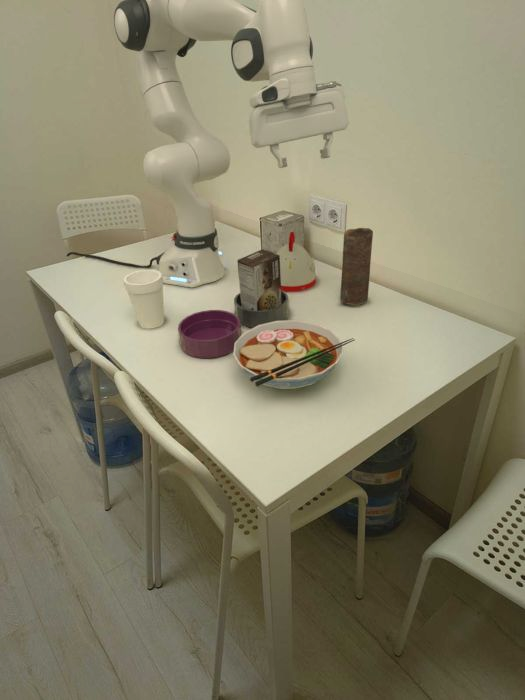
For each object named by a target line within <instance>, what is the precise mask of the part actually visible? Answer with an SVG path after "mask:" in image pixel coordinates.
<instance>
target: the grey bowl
mask: <svg viewBox="0 0 525 700" xmlns="http://www.w3.org/2000/svg"><path fill="white" fill-rule="evenodd" d="M281 299H282V305H281V306H278V307H276V308H273V309H269V310H260V311H257V310H249V309H245V308H243V307H242V306H241V295H240V292H239V293H237V294H236V295H235V297H234V298H233V303H234V314H235V315H236V316H238V318H239V319H240V322H241V326H243V327H247V328H249V329H252V328H254V327H256V326H258V325H261V324H265V323H270V322H274V321H286V320H287V319H288V318H289V315H290V304H289V303H290V302H289V301H290V300H289V296H288V294H287V293H286V291H282V290H281Z"/></svg>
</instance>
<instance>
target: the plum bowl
mask: <svg viewBox="0 0 525 700" xmlns="http://www.w3.org/2000/svg"><path fill="white" fill-rule="evenodd" d="M177 333H178V339H179V345H180V348H181V350H182V351H183V352H184V353H186V354H187V355H189V356H192V357H195V358H198V359H215V358H220V357H223V356H226V355H228V354H231V353H232V352H234V344H235V342H236V341H237V340H238V339H239V338H240V336H241V335H242V334H243V333H242V324H241V322H240V319H239V318H238V316H236V315H235V313H234V312H231V311H227V310H221V309H207V310H201V311H197V312H194V313H192V314H190V315H187V316H186V317H184V318H183V319H181V321H180V322H179V323H178V326H177Z"/></svg>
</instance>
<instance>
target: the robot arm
mask: <svg viewBox="0 0 525 700" xmlns="http://www.w3.org/2000/svg"><path fill="white" fill-rule="evenodd" d="M113 25H114V31H115V34H116V37H117V40H118V41H119V42H120V44H121V45H122V46H123V48H125V49H127V50H130V51H134V52H137V53H136V56H135V60H134V64H135V69H136V70H135V71H136V76H137V80H138V84H139V87H140V88H139V89H140V91H141V94H142V98H143V100H144V103H145V105H146V108H147V112H148V114H149V117H150V120H151V123H152V124H153V127H155V129H157V130H158V131H159V132H161V133H163V134H166V135H168V136H170V137H171V138H172V139H173V140H174V141H175V143H171V144H165V145H161V146H158V147H156V148H154V149H153V148H152V149H151V150H149V151H147V152H146V153H145V156H144V158H143V163H142V164H143V165H142V168H143V169H142V170H143V174H144V176H145V179H146V180H147V182H148V183H149V184H150V185H151V186H152V187H154V188H155V189H156V190H159V191H160V192H161V193H163V194H164V195H165V196H166V198H167V199H168V200H169V202H170V204H171V206H172V208H173V212H174V217H175V221H176V226H177V229H176V230H175V232H174V233H173V234H172V236H171V237H170V240H171V242H173V241H174V243H173V244H172V245H171V246H170V247H169V248H168V249H167V250H166V251H164V252H162V253H160V254H158V255H157V256H156V257H155V256H154V257H152V258H151V259H150V260H149V264H148V265H138V264H135V263H130V262H123V261H119V260H115V259H110V258H107V257H103V256H98V255H94V254H88V253H81V252H80V253H79V252H75V251H70V252H67V254H66V257H70V256H71V255H74V256H78V257H86V258H93V259H98V260H102V261H106V262H109V263H114V264H118V265H121V266H127V267H134V268H138V269H139V268H141V269H143V268H144V269H149V268H151V267H152V265H153V262H154V261H156V265H157V266H158V268H157V269H155V270H156V271H159V272H160V273H161V274H162V277H163V284H169V285H174V286H179V287H185V288H197V287H200V286H202V285H206V284H211V283H214V282H216V281H219V280H221V279H222V278H223V277H224V276H225V275H226V271H225V269H224V266H223V263H222V260H221V256H220V255H223V253H222V251H220V250H219V236H218V230H217V228H216V223H215V215H214V207H213V204H212V202H211V201H210V200H209V199H208V198H207V197H204V196H203V195H200V194H197V193H196V190H195V184H197V183H201V182H206V181H207V182H208V181H211V180H214V179H216V178H218V177H220V176H222V175H224V174H226V173H227V172H228V170H229V168H230V164H231V154H230V151H229V148H228V146H227V145H226V143H225V142H224V141H223V140H222V139H219V138H217V136H215V135H213V134H211V133H210V132H209V131H208V130H206V128H205V127H204V126H203V125H202V124H201V122H200V121H199V120H198V119H197V117H196V115H195V113H194V111H193V110H192V107H191V104H190V101H189V99H188V97H187V94H186V90H185V88H184V85H183V82H182V80H181V77H180V74H179V71H178V70H177V69H178V68H177V65H176V59H177V56H178V57H180V58H185V57H187V55H188V51H189V50H191V49H192V48H193V47H194V46H195V44H196V42H197V41H199V42H222V41H226V42H227V41H232V42H231V48H230V57H231V63H232V66H233V68H234V70H235V72H236V74H237V75H238V76H239V77H240V78H241V80H243V81H245V82H251V83H252V82H262V81H263V82H264V81H269V84H268V85H265V86H264V87H262V88H261V89H260V90H258V91H257V92H255V93H254V94H252V95H251V96H250V97H249V105H250V107H251V108H252V109H251V112H250V113H249V118H248V124H249V127H248V128H249V136H250V143H251V145H252V146H253V147H254V148H255V149H261V148H266V147H269V150H270V153H271V154H272V155H273V157H274V158H275V159H276V160H277V167H278V168H279V169H283V168H287V167H288V163H287V161H288V160H287V157H282V155H281V154H280V152H279V151H280V144H283V143H289V142H293V141H298V140H303V139H308V138H311V137H316V136H321V135H322V139H323V140H324V141H325V143H324V146H323V147H322V148H321V149H319V153H320V158H321V160H324V159H329V158H331V151H330V148H331V146H332V143H333V140H334V133H336V132H340V131H345V130H346V129H347V128H348V126H349V117H348V111H347V107H346V103H345V98H346V95H345V89H344V86H343V85H342V84H341V83H339V82H337V81H336V80H335V81H334V80H333V81H329V82H322V83H316V76H315V68H314V63H313V61H312V60H313V55H314V45H313V39H312V37H311V35H310V30H309V23H308V18H307V12H306V8H305V5H304V2H303V0H258V4H257V9H256V10H255V9H253V8H250V7H249V6H246V5H244V4H242V3H240V2H239V1H237V0H122V1H120V2H119V3H118V4H117V6H116V8H115V9H114V14H113Z"/></svg>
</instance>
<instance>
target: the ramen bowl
mask: <svg viewBox="0 0 525 700" xmlns="http://www.w3.org/2000/svg"><path fill="white" fill-rule="evenodd" d="M355 340H356V339H355V338H353V337H352V338H350V339H346V340H344V341H342V339H341V338H340V337H339V336H338V335H337V334H336V333H335V332H334V331H333V330H332V329H330V328H327V327H325V326H322V325H320V324H318V323H315V322H311V321H304V320H299V319H290V320H287V319H286V320H285V321H274V322H270V323H265V324H261V325H258V326H256V327H254V328H249V329H248V330H246V331H245V332H243V333H242V335H241V336H240V338H239V339H238V340H237V341H236V342H235V344H234V351H232V352H233V353H232V354H233V355H232V356H234V358H235V360H236V361H237V363H238V365H239V367H241V369H242V371H243V372H244V373H245V374H246V375H247V376H249V380H250V382H252V383H253V382H254V384H255V387H260V386H262V385H263V386H266V387H270V388H274V389H279V390H288V389H290V390H291V389H292V390H293V389H301V388H304V387H309V386H311V385H314V384H316V383H318V382H319V381H320V380H322V379H323V378H324V377H326V376H327V375H329V374H330V372H332V371H333V370H334V369H335V367H336V365H337V364H338V362H339V360H340V359H341V357H342V355H343V353H344V348H343V346H345V345H347V344H350V343H352V342H355Z"/></svg>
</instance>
